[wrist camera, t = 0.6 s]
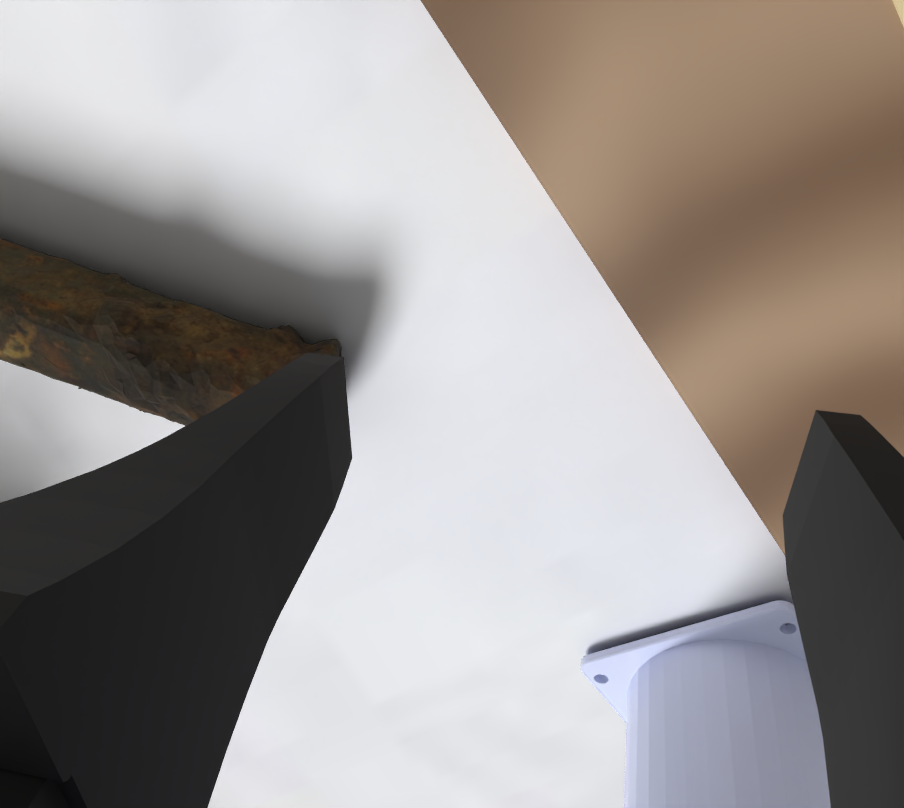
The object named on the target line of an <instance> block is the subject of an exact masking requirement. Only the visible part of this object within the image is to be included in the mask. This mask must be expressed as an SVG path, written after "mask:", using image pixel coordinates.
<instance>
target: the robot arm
mask: <svg viewBox="0 0 904 808" xmlns="http://www.w3.org/2000/svg"><path fill="white" fill-rule="evenodd" d="M351 460H352V451H351V439H350V427H349V416H348V404H347V393H346V381H345V369H344V358H343V357H338V356H329V355H320V354H311V353H307V354H305V355H303V356H301V357H299V358H298V359H296V360H294V361H292V362H291V363H289V364H288V365H286V366H284V367H283V368H281V369H279V370H278V371H276V372H275V373H273V374H272V375H270V376H268V377H267V378H265V379H264V380H262V381H261V382H259V383H257V384H256V385H254V386H253V387H251V388H249V389H248V390H246V391H245V392H243V393H241V394H240V395H238V396H236V397H235V398H233V399H232V400H230V401H228V402H227V403H225V404H224V405H222V406H220V407H219V408H217V409H215V410H214V411H212V412H210V413H208V414H206V415H205V416H203V417H201V418H199V419H198V420H196V421H194V422H192V423H190V424H189V425H187V426H185V427H183V428H181V429H180V430H178V431H176V432H174V433H173V434H171V435H169V436H167V437H165V438H163V439H161V440H159V441H157V442H155V443H153V444H151V445H149V446H147V447H145V448H143V449H141V450H139V451H137V452H135V453H133V454H130V455H128V456H126V457H124V458H121V459H119V460H117V461H115V462H112V463H110V464H108V465H106V466H103V467H101V468H98V469H96V470H93V471H91V472H88V473H85V474H83V475H80V476H77V477H74V478H72V479H69V480H66V481H64V482H61V483H58V484H56V485H53V486H50V487H47V488H45V489H42V490H39V491H37V492H33V493H30V494H27V495H24V496H21V497H18V498H14V499H11V500H8V501H5V502H2V503H0V808H207V807H208V804H209V801H210V798H211V795H212V792H213V789H214V786H215V783H216V780H217V777H218V774H219V771H220V768H221V765H222V762H223V759H224V756H225V753H226V750H227V747H228V745H229V742H230V739H231V736H232V734H233V731H234V728H235V725H236V723H237V720H238V717H239V714H240V712H241V709H242V706H243V703H244V700H245V698H246V695H247V692H248V690H249V687H250V685H251V682H252V679H253V677H254V674H255V672H256V669H257V666H258V664H259V661H260V659H261V656H262V654H263V651H264V648H265V646H266V643H267V641H268V639H269V636H270V634H271V632H272V630H273V628H274V626H275V623H276V621H277V619H278V617H279V615H280V613H281V611H282V609H283V607H284V605H285V603H286V602H287V600H288V598H289V596H290V594H291V592H292V590H293V588H294V586H295V584H296V582H297V581H298V579H299V577H300V575H301V573H302V571H303V569H304V567H305V565H306V563H307V561H308V559H309V558H310V556H311V554H312V552H313V550H314V548H315V546H316V544H317V542H318V540H319V538H320V536H321V534H322V532H323V530H324V528H325V527H326V525H327V523H328V521H329V519H330V517H331V515H332V513H333V511H334V509H335V506H336V503H337V500H338V498H339V495H340V492H341V489H342V487H343V484H344V481H345V478H346V475H347V472H348V469H349V466H350V463H351ZM783 530H784V545H785V557H786V567H787V576H788V581H789V585H790V590H791V595H792V599H793V604H794V605H793V604H792V603H790V602H787V601H782V600H778V601H772V602H769V603H765V604H762V605H758V606H755V607H751V608H748V609H745V610H741V611H738V612H734V613H731V614H727V615H724V616H720V617H717V618H713V619H710V620H706V621H703V622H699V623H696V624H692V625H689V626H685V627H682V628H678V629H675V630H671V631H668V632H664V633H661V634H658V635H654V636H651V637H647V638H644V639H640V640H637V641H633V642H630V643H626V644H623V645H619V646H616V647H612V648H609V649H605V650H602V651H598V652H595V653H591V654H588V655H586V656H584V657H583V658H582V659H581V671H582V673H583V674H584V675H585V676H586V678H587V679H588V680H589V681H590V682H591V683H592V684H593V686H594V687H595V688H596V689H597V690H598V691H599V693H600V694H601V695H602V696H603V697H604V698H605V699H606V701H607V702H608V703H609V704H610V705H611V706H612V708H613V709H614V710H615V711H616V712H617V713H618V715H619V716H620V717H621V718H622V719H623V720H624V721H625V723H626V752H625V787H624V808H904V457H903V456H902V455H901V454H900V453H899V452H898V451H897V450H896V449H895V448H894V447H893V446H892V445H891V444H890V443H889V442H888V441H887V440H886V439H885V438H884V437H883V436H882V435H881V434H880V433H879V432H878V431H877V430H876V429H875V428H874V427H873V426H872V425H871V424H870V423H869V422H868V421H867V420H866V419H864V418H863V417H862V416H861V415H857V414H848V413H839V412H830V411H821V410H816V411H815V414H814V417H813V421H812V424H811V427H810V430H809V433H808V436H807V440H806V443H805V446H804V449H803V452H802V455H801V458H800V462H799V465H798V468H797V471H796V474H795V477H794V481H793V484H792V487H791V490H790V493H789V496H788V500H787V503H786V506H785V509H784V512H783ZM786 623H790V624H789V625H784V624H786ZM601 674H602V675H601Z"/></svg>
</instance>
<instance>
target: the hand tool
mask: <svg viewBox="0 0 904 808" xmlns="http://www.w3.org/2000/svg"><path fill="white" fill-rule="evenodd" d="M307 353H311V354H320V355H329V356H338V357H341V345H340V343H339V341H338V340H337V339H331V340H325V341H322V342H319V343H316V344H313V345H311V344H306V343H305V342H304V341H303V339H302V338H301V336H300V335H299V334H298V333H297V332H296V331H295V330H294V329H293V328H292V327H291V326H280V327H278V328H277V329H276V328H272V329H269V330H268V329H264V328H260V327H256V326H254V325H251V324H247V323H244V322H240V321H237V320H233V319H231V318H228V317H226V316H224V315H221V314H219V313H217V312H214V311H212V310H209V309H207V308H203V307H199V306H196V305H192V304H189V303H186V302H184V301H175V300H172V299H169V298H166V297H164V296H161V295H158V294H156V293H153V292H151V291H148V290H145V289H143V288H140V287H137V286H134V285H131V284H129V283H127V282H126V281H125V280H124V279H123V278H122V277H120V276H119V275H118V274H117V273H114V274H102V273H99V272H96V271H93V270H90V269H88V268H85V267H83V266H79V265H77V264H75V263H72V262H70V261H68V260H66V259H62V258H58V257H53V256H49V255H46V254H43V253H40V252H37V251H34V250H32V249H29V248H26V247H23V246H20V245H17V244H15V243H12V242H9V241H6V240H4V239H1V238H0V360H3V361H6V362H9V363H12V364H14V365H17V366H20V367H23V368H27V369H30V370H33V371H36V372H39V373H41V374H43V375H46V376H48V377H50V378H53V379H56V380H60V381H63V382H66V383H69V384H72V385H75V386H78V387H80V388H79V389H81V388H82V389H85V390H88V391H90V392H94V393H97V394H99V395H102V396H104V397H107V398H110V399H113V400H115V401H119V402H121V403H124V404H126V405H128V406H129V407H133V408H136V409H139V410H140V411H143V412H147V413H151V414H153V415H157V416H161V417H164V418H166V419H168V420H170V421H172V422H177V423H179V424H183V425H185V426H187V425H189V424H190V423H192V422H194V421H196V420H198V419H199V418H201V417H203V416H205V415H206V414H208V413H210V412H212V411H214V410H215V409H217V408H219V407H220V406H222V405H224V404H225V403H227V402H228V401H230V400H232V399H233V398H235V397H236V396H238V395H240V394H241V393H243V392H245V391H246V390H248V389H249V388H251V387H253V386H254V385H256V384H257V383H259V382H261V381H262V380H264V379H265V378H267V377H268V376H270V375H272V374H273V373H275V372H276V371H278V370H279V369H281V368H283V367H284V366H286V365H288V364H289V363H291V362H292V361H294V360H296V359H298V358H299V357H301V356H303V355H305V354H307Z"/></svg>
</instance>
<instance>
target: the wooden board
mask: <svg viewBox="0 0 904 808" xmlns="http://www.w3.org/2000/svg"><path fill="white" fill-rule="evenodd" d="M421 2H422V3H423V5H424V6H425V8H426V9H427V11H428V12H429V14H430V15H431V17H432V18H433V20H434V22H435V23H436V25H437V26H438V28H439V29H440V31H441V32H442V34H443V35H444V37H445V38H446V40H447V41H448V43H449V44H450V46H451V47H452V49H453V50H454V52H455V53H456V55H457V57H458V58H459V60H460V61H461V63H462V64H463V66H464V67H465V69H466V70H467V72H468V73H469V75H470V76H471V78H472V79H473V81H474V82H475V84H476V85H477V87H478V89H479V90H480V92H481V93H482V95H483V96H484V98H485V99H486V101H487V102H488V104H489V105H490V107H491V108H492V110H493V111H494V113H495V114H496V116H497V117H498V119H499V121H500V122H501V124H502V125H503V127H504V128H505V130H506V131H507V133H508V134H509V136H510V137H511V139H512V140H513V142H514V143H515V145H516V146H517V148H518V149H519V151H520V152H521V154H522V156H523V157H524V159H525V160H526V162H527V163H528V165H529V166H530V168H531V169H532V171H533V172H534V174H535V175H536V177H537V178H538V180H539V181H540V183H541V184H542V186H543V188H544V189H545V191H546V192H547V194H548V195H549V197H550V198H551V200H552V201H553V203H554V204H555V206H556V207H557V209H558V210H559V212H560V213H561V215H562V216H563V218H564V220H565V221H566V223H567V224H568V226H569V227H570V229H571V230H572V232H573V233H574V235H575V236H576V238H577V239H578V241H579V242H580V244H581V245H582V247H583V248H584V250H585V251H586V253H587V255H588V256H589V258H590V259H591V261H592V262H593V264H594V265H595V267H596V268H597V270H598V271H599V273H600V274H601V276H602V277H603V279H604V280H605V282H606V283H607V285H608V287H609V288H610V290H611V291H612V293H613V294H614V296H615V297H616V299H617V300H618V302H619V303H620V305H621V306H622V308H623V309H624V311H625V312H626V314H627V315H628V317H629V319H630V320H631V322H632V323H633V325H634V326H635V328H636V329H637V331H638V332H639V334H640V335H641V337H642V338H643V340H644V341H645V343H646V344H647V346H648V347H649V349H650V350H651V352H652V354H653V355H654V357H655V358H656V360H657V361H658V363H659V364H660V366H661V367H662V369H663V370H664V372H665V373H666V375H667V376H668V378H669V379H670V381H671V382H672V384H673V386H674V387H675V389H676V390H677V392H678V393H679V395H680V396H681V398H682V399H683V401H684V402H685V404H686V405H687V407H688V408H689V410H690V411H691V413H692V414H693V416H694V418H695V419H696V421H697V422H698V424H699V425H700V427H701V428H702V430H703V431H704V433H705V434H706V436H707V437H708V439H709V440H710V442H711V443H712V445H713V446H714V448H715V450H716V451H717V453H718V454H719V456H720V457H721V459H722V460H723V462H724V463H725V465H726V466H727V468H728V469H729V471H730V472H731V474H732V475H733V477H734V478H735V480H736V481H737V483H738V485H739V486H740V488H741V489H742V491H743V492H744V494H745V495H746V497H747V498H748V500H749V501H750V503H751V504H752V506H753V507H754V509H755V510H756V512H757V513H758V515H759V517H760V518H761V520H762V521H763V523H764V524H765V526H766V527H767V529H768V530H769V532H770V533H771V535H772V536H773V538H774V539H775V541H776V542H777V544H778V545H779V547H780V549H781V550H782V552H783V553H784V555H785V545H784V530H783V512H784V509H785V506H786V503H787V500H788V496H789V493H790V490H791V487H792V484H793V481H794V477H795V474H796V471H797V468H798V465H799V462H800V458H801V455H802V452H803V449H804V446H805V443H806V440H807V436H808V433H809V430H810V427H811V424H812V421H813V417H814V414H815V411H816V410H821V411H830V412H839V413H848V414H857V415H861V416H862V417H863V418H864V419H866V420H867V421H868V422H869V423H870V424H871V425H872V426H873V427H874V428H875V429H876V430H877V431H878V432H879V433H880V434H881V435H882V436H883V437H884V438H885V439H886V440H887V441H888V442H889V443H890V444H891V445H892V446H893V447H894V448H895V449H896V450H897V451H898V452H899V453H900V454H901V455H902V456H903V457H904V0H421Z"/></svg>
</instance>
